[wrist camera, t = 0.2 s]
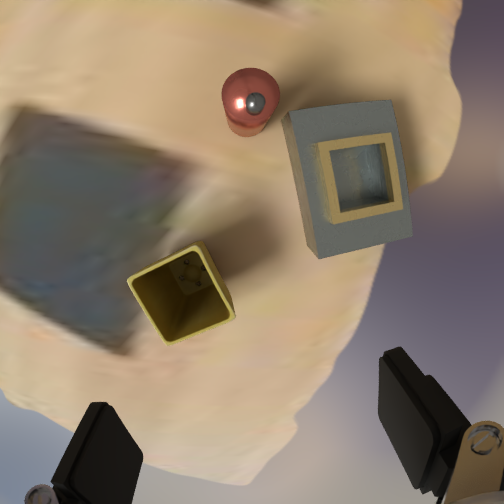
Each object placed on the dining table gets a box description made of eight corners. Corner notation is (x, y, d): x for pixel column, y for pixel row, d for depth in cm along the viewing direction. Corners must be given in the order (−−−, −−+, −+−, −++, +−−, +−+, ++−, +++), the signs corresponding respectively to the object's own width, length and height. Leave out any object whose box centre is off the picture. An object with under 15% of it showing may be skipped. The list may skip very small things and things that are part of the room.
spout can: (223, 104, 34) (214, 65, 20) (261, 97, 34) (275, 53, 19) (232, 140, 36) (227, 122, 21) (269, 132, 35) (290, 109, 21)
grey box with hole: (281, 119, 35) (291, 108, 28) (370, 107, 35) (397, 97, 28) (307, 245, 39) (322, 263, 32) (390, 226, 39) (419, 239, 32)
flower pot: (147, 255, 39) (124, 279, 30) (206, 226, 38) (197, 243, 30) (179, 312, 41) (166, 347, 32) (237, 286, 40) (237, 319, 32)
